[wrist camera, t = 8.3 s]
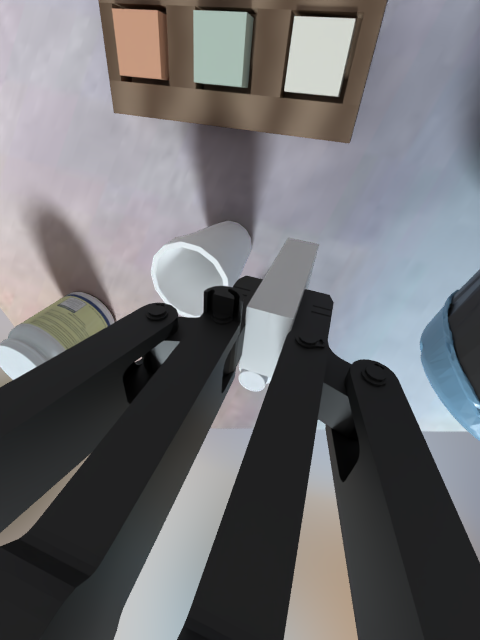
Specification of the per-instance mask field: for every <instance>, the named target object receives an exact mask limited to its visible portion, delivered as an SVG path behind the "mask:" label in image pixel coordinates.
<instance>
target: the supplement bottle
mask: <svg viewBox="0 0 480 640" xmlns="http://www.w3.org/2000/svg"><path fill="white" fill-rule="evenodd" d="M239 364H240V362H239ZM239 370H240V374H239V382H240V383H241V385H242V386H243V387H244V388H246V389H248V390H251V391H260V390H262V389H264V387H265V385H266V383H269V382H270V381H271V379H272V378H270V377H267V376H264V375H261V374H258V373H255V372H251V371H248V370H245V369H242V368H239Z"/></svg>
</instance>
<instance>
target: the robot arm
mask: <svg viewBox="0 0 480 640" xmlns="http://www.w3.org/2000/svg"><path fill="white" fill-rule="evenodd" d="M318 246H319V244H316V243H311V242H306V241H301V240H296V239H292V238H288V239H287V241H286V242H285V244H284V246H283V247H282V249H281V251H280V252H279V254H278V256H277V257H276V259H275V261H274V262H273V264H272V266H271V267H270V269H269V270H268V272H267V274H266V275H265V277H264V279H263V280H262V279H258V278H254V277H250V276H244V277H242V278H240V279H238V280H237V281H236V283H235V284H234V285H233V287H228V286H214V287H210V288H208V289H206V290H205V291H204V305H203V314H202V315H201V316H200V317H178V312H177V310H176V308H174V307H173V306H172V305H169V304H166V303H152V304H148V305H146V306H143V307H141V308H140V309H138V310H136V311H134V312H132V313H131V314H129V315H127V316H125V317H124V318H122V319H120V320H118V321H117V322H115V323H113V324H111V325H110V326H108V327H106V328H104V329H102V330H101V331H99V332H97V333H95V334H94V335H92V336H90V337H88V338H87V339H85V340H83V341H81V342H80V343H78V344H76V345H74V346H72V347H71V348H69V349H67V350H65V351H64V352H62V353H60V354H58V355H57V356H55V357H53V358H51V359H50V360H48V361H46V362H44V363H42V364H41V365H39V366H37V367H35V368H34V369H32V370H30V371H28V372H27V373H25V374H23V375H21V376H20V377H18V378H16V379H14V380H12V381H11V382H9V383H7V384H5V385H4V386H2V387H0V532H2V531H3V530H4V529H5V528H6V527H7V526H8V525H10V524H11V523H12V522H13V521H14V520H15V519H16V518H17V517H19V516H20V515H21V514H22V513H23V512H24V511H25V510H27V509H28V508H29V507H30V506H31V505H32V504H33V503H34V502H36V501H37V500H38V499H39V498H40V497H42V496H43V495H44V494H45V493H46V492H47V491H48V490H49V489H51V488H52V487H53V486H54V485H55V484H56V483H57V482H59V481H60V480H61V479H62V478H63V477H64V476H65V475H67V474H68V473H69V472H70V471H71V470H72V469H73V468H74V467H76V466H77V465H78V464H79V463H80V462H81V461H82V460H84V459H85V458H86V457H87V456H88V455H89V454H90V453H91V454H90V455H89V457H88V458H87V459H86V461H85V462H84V463H83V464H82V466H81V467H80V468H79V469H78V471H77V472H76V473H75V474H74V476H73V477H72V478H71V479H70V481H69V482H68V483H67V484H66V486H65V487H64V488H63V490H62V491H61V492H60V493H59V494H58V496H57V497H56V498H55V500H54V501H53V502H52V503H51V505H50V506H49V507H48V508H47V510H46V511H45V512H44V513H43V515H42V516H41V517H40V518H39V520H38V521H37V522H36V523H35V525H34V526H33V527H32V528H31V529H30V530H29V531H28V532H27V533H26V534H25V535H23V536H22V537H21V538H19V539H18V540H15V541H13V542H10V543H8V544H6V545H3V546H0V640H113V639H114V637H115V634H116V631H117V627H118V623H119V619H120V616H121V613H122V610H123V607H124V605H125V603H126V601H127V599H128V597H129V594H130V592H131V590H132V588H133V586H134V584H135V582H136V580H137V578H138V576H139V574H140V572H141V570H142V568H143V565H144V564H145V562H146V559H147V557H148V555H149V553H150V551H151V549H152V547H153V545H154V543H155V541H156V539H157V537H158V535H159V533H160V531H161V528H162V526H163V524H164V522H165V520H166V518H167V516H168V514H169V512H170V510H171V508H172V506H173V504H174V502H175V500H176V497H177V495H178V493H179V491H180V489H181V487H182V485H183V483H184V481H185V479H186V476H187V475H188V473H189V471H190V468H191V466H192V464H193V462H194V460H195V458H196V456H197V454H198V452H199V450H200V448H201V446H202V444H203V442H204V439H205V438H206V435H207V433H208V431H209V429H210V427H211V425H212V423H213V421H214V419H215V417H216V415H217V413H218V411H219V409H220V407H221V404H222V402H223V400H224V398H225V396H226V394H227V392H228V390H229V388H230V386H231V384H232V382H233V380H234V377H235V371H236V366H237V364H238V362H239V360H240V364H239V368H242V369H245V370H248V371H251V372H255V373H258V374H261V375H264V376H267V377H270V378H272V379H271V381H270V384H269V387H268V390H267V393H266V396H265V398H264V401H263V404H262V407H261V410H260V413H259V415H258V418H257V421H256V424H255V427H254V430H253V433H252V435H251V438H250V441H249V444H248V447H247V449H246V453H245V455H244V458H243V461H242V464H241V466H240V469H239V472H238V475H237V478H236V481H235V484H234V486H233V489H232V492H231V495H230V498H229V501H228V503H227V506H226V509H225V512H224V515H223V518H222V521H221V523H220V526H219V529H218V532H217V535H216V538H215V540H214V543H213V546H212V549H211V552H210V554H209V557H208V560H207V563H206V566H205V569H204V572H203V574H202V578H201V580H200V583H199V586H198V589H197V591H196V594H195V597H194V600H193V603H192V606H191V608H190V611H189V614H188V617H187V619H186V621H185V624H184V626H183V628H182V631H181V633H180V635H179V637H178V639H177V640H283V639H284V633H285V626H286V620H287V614H288V607H289V601H290V594H291V588H292V581H293V575H294V569H295V562H296V556H297V549H298V542H299V536H300V530H301V523H302V517H303V511H304V504H305V498H306V491H307V485H308V478H309V472H310V465H311V459H312V453H313V446H314V439H315V433H316V427H317V420H318V419H319V420H320V421H322V422H323V423H325V424H326V428H325V429H326V435H327V441H328V448H329V454H330V461H331V467H332V473H333V480H334V486H335V493H336V499H337V506H338V512H339V519H340V525H341V532H342V537H343V544H344V551H345V557H346V564H347V570H348V577H349V583H350V589H351V596H352V603H353V609H354V615H355V622H356V628H357V635H358V640H480V562H479V560H478V558H477V556H476V553H475V551H474V549H473V547H472V544H471V542H470V540H469V538H468V535H467V533H466V531H465V529H464V526H463V524H462V522H461V520H460V518H459V515H458V513H457V511H456V508H455V506H454V504H453V502H452V499H451V497H450V495H449V493H448V490H447V488H446V486H445V484H444V481H443V479H442V477H441V475H440V472H439V470H438V468H437V466H436V463H435V462H434V459H433V457H432V454H431V452H430V450H429V448H428V445H427V443H426V441H425V439H424V436H423V434H422V432H421V430H420V427H419V425H418V423H417V421H416V418H415V416H414V414H413V412H412V409H411V407H410V405H409V403H408V400H407V398H406V396H405V394H404V391H403V389H402V387H401V385H400V382H399V380H398V378H397V377H396V376H395V374H394V373H393V372H392V371H391V370H390V369H389V368H387V367H386V366H384V365H382V364H380V363H378V362H376V361H372V360H358V361H355V362H353V364H350V363H348V362H346V361H344V360H342V359H341V358H339V357H338V356H337V355H335V354H334V353H333V352H332V350H331V349H330V348H329V345H328V334H329V328H330V322H331V315H332V309H333V301H332V299H331V297H330V295H328V294H324V293H319V292H315V291H311V290H307V288H308V285H309V281H310V277H311V273H312V269H313V266H314V262H315V258H316V254H317V250H318ZM420 350H421V362H422V365H423V368H424V371H425V373H426V376H427V378H428V380H429V382H430V384H431V386H432V388H433V389H434V391H435V393H436V394H437V396H438V397H439V399H440V400H441V402H442V403H443V404H444V406H445V407H446V408H447V409H448V411H449V412H450V413H451V414H452V415H453V417H454V418H455V419H456V420H457V421H458V422H459V423H460V424H461V425H462V426H463V427H464V428H465V429H466V430H467V431H468V432H469V433H471V434H472V435H473V436H474V437H475V438H476V439H478V440H479V441H480V270H479V271H478V272H477V273H476V274H475V275H474V276H473V277H472V278H471V279H470V280H469V281H468V282H467V283H466V284H465V285H464V286H463V287H462V288H461V289H460V290H456V291H455V292H453V293H452V294H451V295H450V296H449V298H448V299H447V301H446V302H445V305H444V307H443V308H442V309H441V310H440V311H439V312H438V313H437V315H436V316H435V317H434V318H433V319H432V320H431V322H430V323H429V324H428V325H427V326H426V328H425V329H424V331H423V333H422V336H421V339H420ZM140 357H142V359H141V360H139V361H137V362H135V361H136V360H138V359H139V358H140Z"/></svg>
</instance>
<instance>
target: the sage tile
mask: <svg viewBox="0 0 480 640" xmlns="http://www.w3.org/2000/svg"><path fill="white" fill-rule="evenodd" d="M253 20H254V18H253V17H252V16H251V15H250V14H248V13H247V12H230V11H205V10H193V29H194V82H196V83H202V84H212V85H222V86H232V87H243V88H248V82H249V70H250V57H251V45H252V32H253Z"/></svg>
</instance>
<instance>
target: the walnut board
mask: <svg viewBox="0 0 480 640" xmlns="http://www.w3.org/2000/svg"><path fill="white" fill-rule="evenodd" d="M387 1H388V0H99V7H100V15H101V22H102V29H103V36H104V44H105V51H106V58H107V65H108V73H109V80H110V87H111V94H112V102H113V109H114V113H119V114H127V115H135V116H142V117H150V118H158V119H165V120H173V121H181V122H189V123H196V124H204V125H212V126H219V127H227V128H235V129H243V130H250V131H258V132H266V133H273V134H281V135H289V136H297V137H304V138H312V139H320V140H327V141H335V142H343V143H350V140H351V137H352V133H353V129H354V125H355V122H356V118H357V114H358V110H359V106H360V103H361V99H362V95H363V91H364V88H365V84H366V80H367V76H368V72H369V69H370V65H371V61H372V57H373V53H374V50H375V46H376V42H377V38H378V35H379V31H380V27H381V23H382V19H383V16H384V12H385V8H386V4H387ZM112 8H113V9H137V10H158V11H160V12H162V13H164V14H166V15H167V37H168V60H169V80H159V79H148V78H138V77H129V76H122V75H120V72H119V63H118V55H117V47H116V39H115V30H114V22H113V14H112ZM193 10H205V11H230V12H247V13H248V14H250V15H251V16H252V17H253V18H254V20H253V32H252V45H251V57H250V70H249V82H248V88H243V87H232V86H222V85H212V84H202V83H196V82H194V29H193ZM294 16H305V17H330V18H354V19H356V27H355V32H354V36H353V40H352V45H351V49H350V53H349V58H348V62H347V67H346V71H345V75H344V80H343V84H342V88H341V93H340V97H332V96H322V95H312V94H302V93H292V92H286V91H284V88H285V81H286V74H287V66H288V59H289V52H290V45H291V37H292V30H293V23H294Z"/></svg>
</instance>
